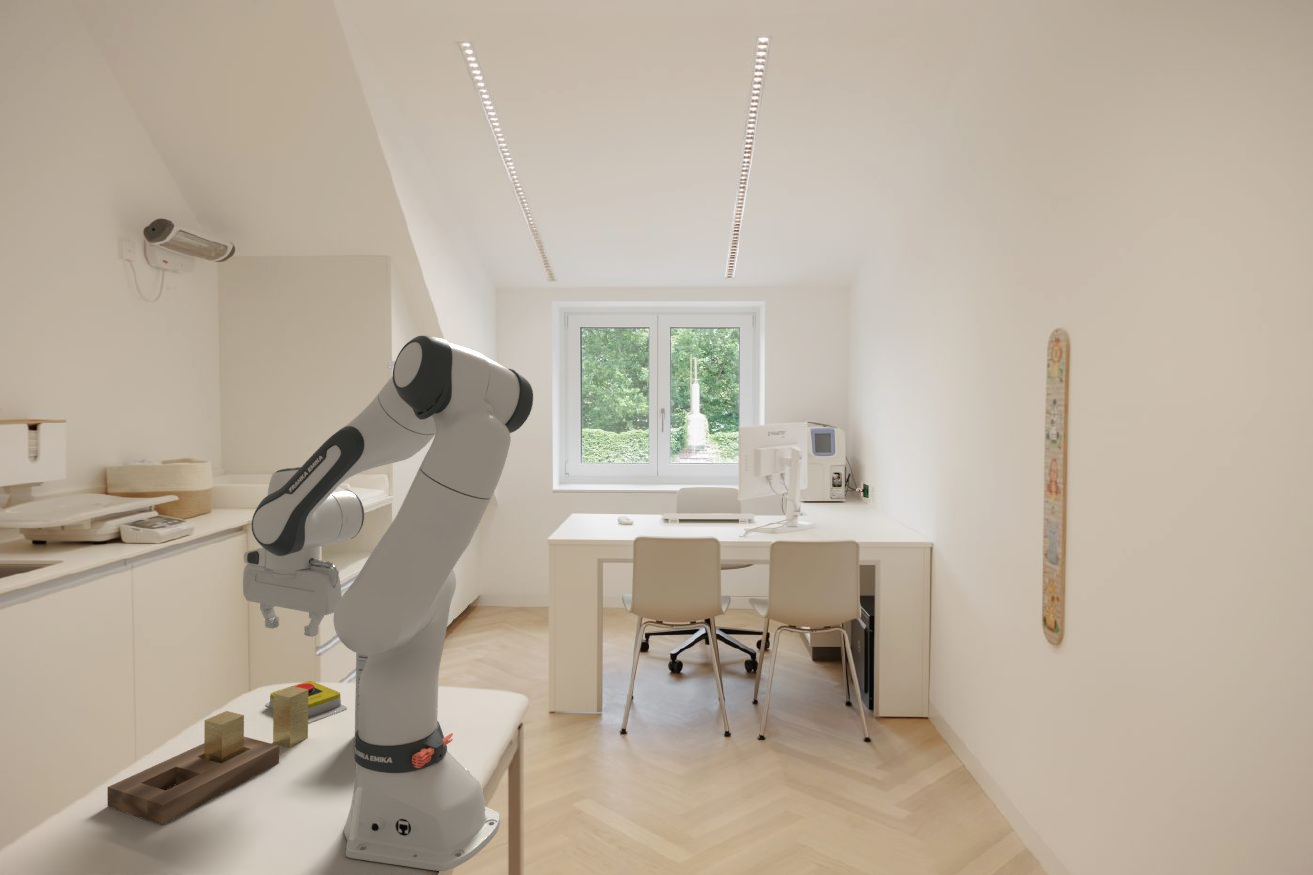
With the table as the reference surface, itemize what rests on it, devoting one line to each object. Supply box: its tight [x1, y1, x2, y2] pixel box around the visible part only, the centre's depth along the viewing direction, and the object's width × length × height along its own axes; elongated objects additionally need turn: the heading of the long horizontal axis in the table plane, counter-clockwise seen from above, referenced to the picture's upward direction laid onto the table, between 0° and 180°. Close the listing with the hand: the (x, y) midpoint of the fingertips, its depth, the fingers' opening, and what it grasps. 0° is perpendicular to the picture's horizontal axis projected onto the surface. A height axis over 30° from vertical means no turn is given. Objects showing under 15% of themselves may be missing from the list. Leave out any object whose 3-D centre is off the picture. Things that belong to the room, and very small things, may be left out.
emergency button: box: [265, 680, 348, 725], centre depth 146 cm, size 9×4×15 cm
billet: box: [272, 685, 309, 748], centre depth 131 cm, size 4×4×9 cm
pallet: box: [107, 736, 280, 826], centre depth 116 cm, size 12×20×3 cm, turn 159°
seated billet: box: [203, 710, 245, 763], centre depth 120 cm, size 4×4×9 cm
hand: (291, 631), depth 131 cm, fingers open, 8 cm apart
